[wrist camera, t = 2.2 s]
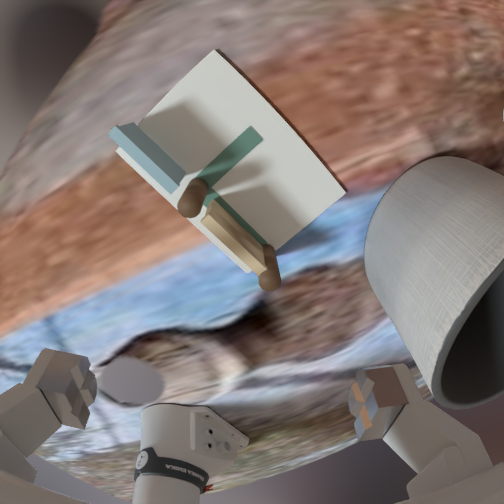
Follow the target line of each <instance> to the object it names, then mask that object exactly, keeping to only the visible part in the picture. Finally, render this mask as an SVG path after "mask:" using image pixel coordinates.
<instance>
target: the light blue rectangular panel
mask: <svg viewBox="0 0 504 504" xmlns="http://www.w3.org/2000/svg"><path fill="white" fill-rule="evenodd" d="M108 136H109V137H110V138H111V139H112V140H114V141H115V142H116V143H117V144H118V145H119V146H120V147H121V148H122V149H123V150H124V151H125V152H126V153H127V154H128V155H129V156H130V157H131V158H132V159H134V160H135V161H136V162H137V163H138V164H139V165H140V166H141V167H142V168H143V169H144V170H145V171H146V172H147V173H148V174H149V175H150V176H151V177H153V178H154V179H155V180H156V181H157V182H158V183H159V184H160V185H161V186H162V187H163V188H164V189H165V190H166V191H167V192H169V193H170V194H172V193H173V192H174V191H175V190H176V189H177V188H178V187H179V186H180V182H181V181H182V179H183V178H184V176H185V175H186V172H185V171H184V170H183V169H182V168H181V167H180V166H179V165H178V164H177V163H176V162H175V161H174V160H173V159H172V158H170V157H169V156H168V155H167V154H166V153H165V152H164V151H163V150H162V149H161V148H160V147H159V146H158V145H157V144H156V143H155V142H154V141H153V140H152V139H151V138H149V137H148V136H147V135H146V134H145V133H144V132H143V131H142V130H141V129H140V128H139V127H138V126H137V125H136V124H135V123H134V122H133V123H129V124H126V125H122V126H118V125H116V126H114V128H113V129H112V130H111V131H110V133H109V134H108Z"/></svg>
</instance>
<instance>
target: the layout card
mask: <svg viewBox="0 0 504 504" xmlns="http://www.w3.org/2000/svg"><path fill="white" fill-rule="evenodd" d="M138 127H139V128H140V129H141V130H142V131H143V132H144V133H145V134H146V135H147V136H148V137H149V138H151V139H152V140H153V141H154V142H155V143H156V144H157V145H158V146H159V147H160V148H161V149H162V150H163V151H164V152H165V153H166V154H167V155H168V156H169V157H170V158H172V159H173V160H174V161H175V162H176V163H177V164H178V165H179V166H180V167H181V168H182V169H183V170H184V171H185V172H186V175H185V176H184V178H183V179H182V181H181V182H180V186H179V187H178V188H177V189H176V190H175V191H174V192H173V193H172V194H170V193H169V192H167V191H166V190H165V189H164V188H163V187H162V186H161V185H160V184H159V183H158V182H157V181H156V180H155V179H154V178H153V177H151V176H150V175H149V174H148V173H147V172H146V171H145V170H144V169H143V168H142V167H141V166H140V165H139V164H138V163H137V162H136V161H135V160H134V159H132V158H131V157H130V156H129V155H128V154H127V153H126V152H125V151H124V150H123V149H122V148H121V147H119V148H118V149H117V150H116V152H117V153H118V154H119V155H120V156H121V157H122V158H123V159H124V160H125V161H126V162H127V163H128V164H129V165H130V166H131V167H132V168H134V169H135V170H136V171H137V172H138V173H139V174H140V175H141V176H142V177H143V178H144V179H145V180H146V181H147V182H148V183H149V184H151V185H152V186H153V187H154V188H155V189H156V190H157V191H158V192H159V193H160V194H161V195H162V196H163V197H164V198H165V199H167V200H168V201H169V202H170V203H171V204H172V205H173V206H174V207H175V208H176V209H177V210H178V208H177V204H178V201H179V199H180V198H181V196H182V194H183V192H184V191H185V189H186V187H187V185H188V184H189V182H190V181H191V180H192V179H193V178H202V179H204V180H205V181H206V182H207V184H208V191H207V194H206V197H205V200H204V203H203V206H202V209H201V212H200V213H199V215H198V216H196V217H194V218H187V219H188V220H189V221H190V222H191V223H192V224H193V225H195V226H196V227H197V228H198V229H199V230H200V231H201V232H202V233H203V234H204V235H205V236H207V237H208V238H209V239H210V240H211V241H212V242H213V243H214V244H215V245H216V246H217V247H219V248H220V249H221V250H222V251H223V252H224V253H225V254H226V255H227V256H228V257H229V258H231V259H232V260H233V261H234V262H235V263H236V264H237V265H238V266H239V267H240V268H242V269H243V270H244V271H245V272H246V273H247V274H248V273H249V272H251V271H252V270H251V269H250V268H249V267H248V266H247V265H246V264H245V263H244V262H243V261H242V260H241V259H239V258H238V257H237V256H236V255H235V254H234V253H233V252H232V251H231V250H230V249H229V248H228V247H226V246H225V245H224V244H223V243H222V242H221V241H220V240H219V239H218V238H217V237H216V236H215V235H214V234H212V233H211V232H210V231H209V230H208V229H207V228H206V227H205V226H204V225H203V224H202V223H201V222H200V221H201V219H202V218H203V217H204V216H205V213H206V210H207V206H208V204H209V203H210V202H211V201H212V200H213V199H214V200H215V201H216V202H217V203H218V204H219V205H220V206H221V207H223V208H224V209H225V210H226V211H227V212H228V213H229V214H230V215H231V216H232V217H233V218H234V219H235V220H236V221H237V222H238V223H239V224H240V225H241V226H242V227H243V228H244V229H245V230H246V231H247V232H248V233H249V234H250V235H251V236H252V237H253V238H254V239H255V240H257V241H258V242H259V243H260V244H261V245H263V244H270V245H272V246H273V247H274V249H275V251H276V250H278V249H279V248H280V247H281V246H283V245H284V244H285V243H286V242H287V241H289V240H290V239H291V238H292V237H294V236H295V235H296V234H297V233H298V232H300V231H301V230H302V229H303V228H304V227H306V226H307V225H308V224H309V223H310V222H312V221H313V220H314V219H315V218H317V217H318V216H319V215H320V214H321V213H323V212H324V211H325V210H326V209H327V208H329V207H330V206H331V205H332V204H333V203H335V202H336V201H337V200H338V199H339V198H341V197H342V196H343V195H344V194H345V193H346V192H345V191H344V190H343V188H342V187H341V186H340V185H339V183H338V182H337V181H336V180H335V178H334V177H333V176H332V175H331V173H330V172H329V171H328V170H327V169H326V167H325V166H324V165H323V164H322V163H321V161H320V160H319V159H318V158H317V157H316V155H315V154H314V153H313V152H312V151H311V150H310V148H309V147H308V146H307V145H306V144H305V143H304V142H303V140H302V139H301V138H300V137H299V136H298V135H297V134H296V132H295V131H294V130H293V129H292V128H291V127H290V126H289V125H288V124H287V122H286V121H285V120H284V119H283V118H282V117H281V116H280V115H279V114H278V113H277V112H276V111H275V109H274V108H273V107H272V106H271V105H270V104H269V103H268V102H267V101H266V100H265V99H264V98H263V97H262V96H261V95H260V94H259V93H258V92H257V91H256V90H255V89H254V88H253V87H252V86H251V85H250V84H249V83H248V82H247V81H246V80H245V79H244V78H243V77H242V76H241V75H240V74H239V73H238V72H237V71H236V70H235V69H234V68H233V67H232V66H231V65H230V64H229V63H228V62H227V61H226V60H225V59H224V58H223V57H222V56H221V55H220V54H219V53H217V52H216V51H215V50H213V51H212V52H211V53H210V54H208V55H207V56H206V57H205V58H204V59H203V60H202V61H201V62H200V63H199V64H197V65H196V66H195V67H194V68H193V69H192V70H191V71H190V72H189V73H188V74H187V75H186V76H185V77H184V78H183V79H182V80H181V81H180V82H179V83H178V84H177V85H176V86H175V87H174V88H173V89H172V90H171V91H170V92H169V93H168V94H167V95H166V96H165V97H164V98H163V99H162V100H161V101H160V102H159V103H158V104H157V105H156V106H155V107H154V108H153V109H152V110H151V111H150V112H149V114H148V115H147V116H146V117H145V118H144V119H143V120H142V121H141V122H140V124H139V125H138Z"/></svg>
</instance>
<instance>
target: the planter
mask: <svg viewBox="0 0 504 504" xmlns="http://www.w3.org/2000/svg"><path fill="white" fill-rule="evenodd" d="M364 263H365V270H366V274H367V277H368V280H369V283H370V285H371V287H372V289H373V291H374V293H375V295H376V297H377V298H378V300H379V302H380V303H381V305H382V306H383V308H384V310H385V311H386V313H387V315H388V316H389V318H390V320H391V321H392V323H393V325H394V326H395V328H396V330H397V331H398V333H399V335H400V336H401V338H402V340H403V341H404V343H405V345H406V347H407V348H408V350H409V352H410V354H411V355H412V357H413V359H414V361H415V363H416V365H417V366H418V368H419V370H420V372H421V374H422V376H423V378H424V380H425V382H426V383H427V385H428V387H429V389H430V391H431V393H432V395H433V397H434V398H435V400H436V401H437V402H438V403H439V404H440V405H441V406H443V407H445V408H449V409H466V408H472V407H475V406H478V405H481V404H484V403H486V402H489V401H490V400H493V399H495V398H496V397H498V396H500V395H502V394H503V393H504V176H503V175H501V174H499V173H496V172H494V171H492V170H490V169H488V168H486V167H484V166H482V165H479V164H477V163H475V162H472V161H470V160H467V159H463V158H459V157H453V156H442V157H435V158H431V159H428V160H425V161H423V162H421V163H419V164H417V165H415V166H413V167H412V168H410V169H409V170H407V171H406V172H405V173H404V174H402V175H401V176H400V177H399V178H398V179H397V180H396V181H395V182H394V183H393V184H392V185H391V186H390V188H389V189H388V190H387V191H386V193H385V194H384V195H383V197H382V198H381V200H380V202H379V203H378V205H377V207H376V209H375V211H374V213H373V215H372V218H371V220H370V223H369V226H368V230H367V234H366V238H365V245H364Z"/></svg>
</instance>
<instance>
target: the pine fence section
mask: <svg viewBox="0 0 504 504" xmlns="http://www.w3.org/2000/svg"><path fill="white" fill-rule="evenodd" d="M207 191H208V184H207V182H206V181H205V180H204V179H202V178H193V179H192V180H191V181H190V182H189V184H188V185H187V187H186V189H185V191H184V192H183V194H182V196H181V198H180V199H179V201H178V204H177V208H178V211H179V213H180V214H181V215H182V216H183V217H186V218H194V217H196V216H198V215H199V213H200V212H201V209H202V206H203V203H204V200H205V197H206V194H207ZM200 222H201V223H202V224H203V225H204V226H205V227H206V228H207V229H208V230H209V231H210V232H211V233H212V234H214V235H215V236H216V237H217V238H218V239H219V240H220V241H221V242H222V243H223V244H224V245H225V246H226V247H228V248H229V249H230V250H231V251H232V252H233V253H234V254H235V255H236V256H237V257H238V258H239V259H241V260H242V261H243V262H244V263H245V264H246V265H247V266H248V267H249V268H250V269H251V270H253V271H254V272H255V273H256V274H257V275H258V278H259V285H260V287H261V288H262V289H263V290H266V291H273V290H276V289H277V288H278V287H279V286H280V284H281V278H280V273H279V268H278V263H277V258H276V254H275V249H274V247H273V246H272V245H270V244H263V245H261V244H260V243H259V242H258V241H257V240H255V239H254V238H253V237H252V236H251V235H250V234H249V233H248V232H247V231H246V230H245V229H244V228H243V227H242V226H241V225H240V224H239V223H238V222H237V221H236V220H235V219H234V218H233V217H232V216H231V215H230V214H229V213H228V212H227V211H226V210H225V209H224V208H223V207H221V206H220V205H219V204H218V203H217V202H216V201H215V200H214V199H213V200H212V201H211V202H210V203H209V204H208V206H207V210H206V213H205V216H204V217H203V218H202V219H201V221H200Z"/></svg>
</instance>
